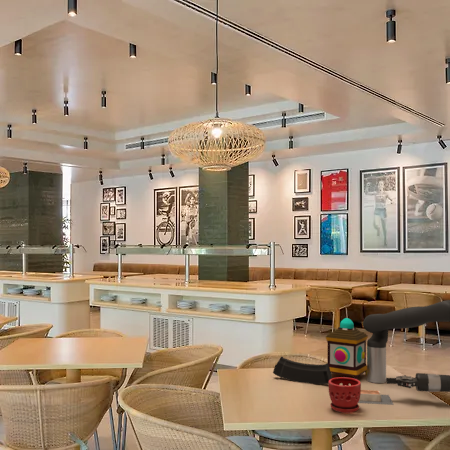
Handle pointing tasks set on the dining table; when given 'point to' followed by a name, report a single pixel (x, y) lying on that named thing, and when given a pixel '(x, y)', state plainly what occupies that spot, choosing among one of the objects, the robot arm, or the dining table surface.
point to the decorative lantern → (347, 350)
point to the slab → (370, 395)
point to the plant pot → (344, 394)
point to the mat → (384, 400)
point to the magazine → (302, 372)
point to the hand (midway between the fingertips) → (386, 380)
